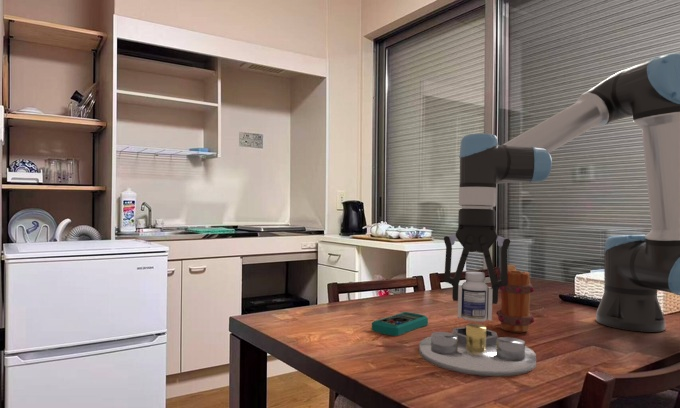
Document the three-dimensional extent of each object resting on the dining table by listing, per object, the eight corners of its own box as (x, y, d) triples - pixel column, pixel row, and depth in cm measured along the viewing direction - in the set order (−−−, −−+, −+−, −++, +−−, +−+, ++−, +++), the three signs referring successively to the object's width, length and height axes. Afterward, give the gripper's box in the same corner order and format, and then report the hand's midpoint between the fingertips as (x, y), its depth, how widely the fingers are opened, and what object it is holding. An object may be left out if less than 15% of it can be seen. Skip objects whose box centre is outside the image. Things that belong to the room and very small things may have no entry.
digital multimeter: (369, 332, 110) (369, 320, 110) (403, 321, 121) (404, 310, 121) (395, 339, 105) (395, 326, 105) (428, 326, 116) (429, 315, 116)
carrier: (526, 345, 100) (527, 317, 100) (546, 382, 79) (546, 347, 79) (422, 336, 105) (423, 310, 105) (415, 368, 84) (415, 336, 84)
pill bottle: (467, 314, 102) (468, 270, 102) (491, 319, 99) (492, 272, 99) (456, 318, 98) (457, 272, 98) (481, 323, 95) (482, 275, 95)
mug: (536, 337, 107) (538, 271, 107) (499, 334, 109) (500, 269, 109) (524, 321, 121) (525, 264, 122) (492, 319, 123) (493, 262, 123)
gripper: (520, 209, 100) (518, 317, 100) (433, 206, 104) (430, 310, 104) (526, 209, 93) (523, 325, 93) (431, 206, 97) (429, 318, 97)
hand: (474, 317), depth 98 cm, fingers closed on pill bottle, 5 cm apart
